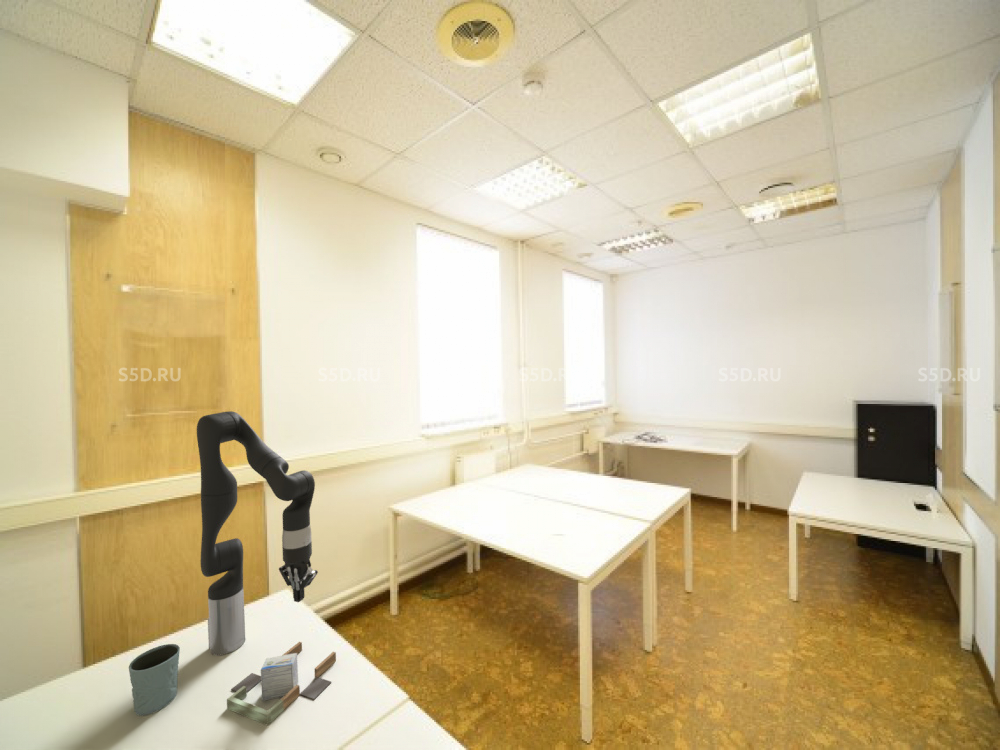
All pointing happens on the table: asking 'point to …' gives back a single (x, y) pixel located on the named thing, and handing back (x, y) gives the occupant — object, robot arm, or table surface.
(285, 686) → the medicine box
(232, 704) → the trap channel
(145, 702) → the blue-grey vase
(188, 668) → the table surface
